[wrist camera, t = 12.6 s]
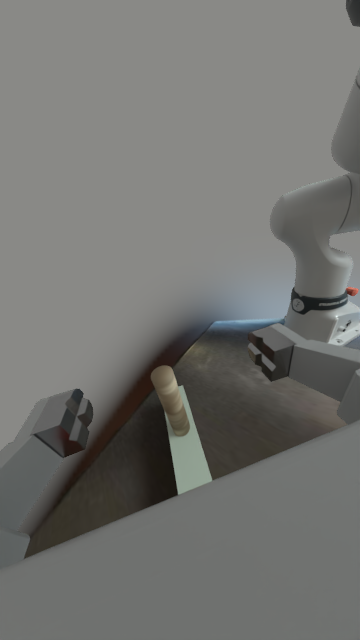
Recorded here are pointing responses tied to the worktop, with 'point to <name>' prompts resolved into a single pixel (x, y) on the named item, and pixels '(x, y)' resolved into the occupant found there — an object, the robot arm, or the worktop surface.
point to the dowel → (171, 399)
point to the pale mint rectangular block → (188, 454)
